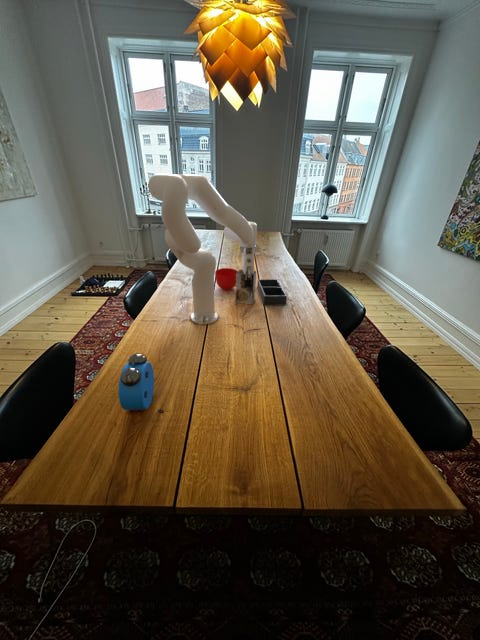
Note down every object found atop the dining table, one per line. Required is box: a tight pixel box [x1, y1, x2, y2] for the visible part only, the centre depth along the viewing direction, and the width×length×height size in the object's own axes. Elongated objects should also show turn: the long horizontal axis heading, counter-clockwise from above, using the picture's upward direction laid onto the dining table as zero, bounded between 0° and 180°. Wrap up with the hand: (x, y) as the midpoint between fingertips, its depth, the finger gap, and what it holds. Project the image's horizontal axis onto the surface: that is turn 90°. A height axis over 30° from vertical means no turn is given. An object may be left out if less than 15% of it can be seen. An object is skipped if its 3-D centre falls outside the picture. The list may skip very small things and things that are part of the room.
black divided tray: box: [256, 278, 288, 306], centre depth 141 cm, size 23×12×5 cm, turn 5°
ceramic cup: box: [214, 267, 239, 291], centre depth 145 cm, size 13×17×10 cm
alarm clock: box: [118, 352, 155, 413], centre depth 72 cm, size 13×6×15 cm, turn 4°
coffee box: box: [235, 269, 257, 305], centre depth 132 cm, size 9×6×16 cm
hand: (246, 282), depth 131 cm, fingers open, 9 cm apart
